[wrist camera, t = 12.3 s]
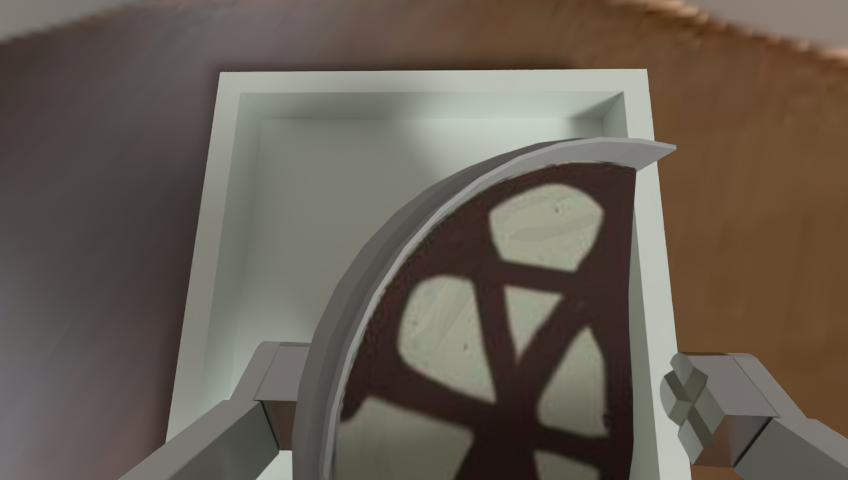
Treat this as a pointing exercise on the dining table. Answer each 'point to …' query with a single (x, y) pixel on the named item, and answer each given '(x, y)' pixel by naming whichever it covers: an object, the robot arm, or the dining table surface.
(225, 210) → the tray
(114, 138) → the dining table surface
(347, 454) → the food container
